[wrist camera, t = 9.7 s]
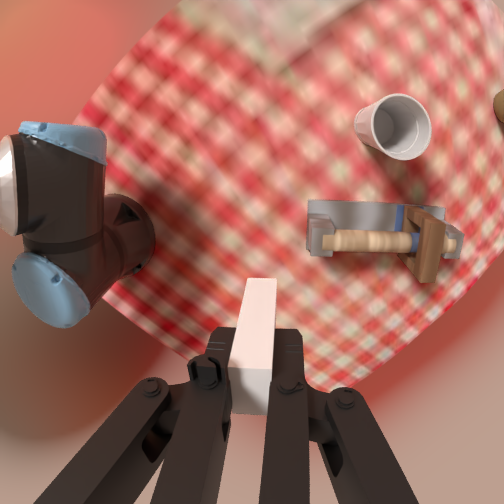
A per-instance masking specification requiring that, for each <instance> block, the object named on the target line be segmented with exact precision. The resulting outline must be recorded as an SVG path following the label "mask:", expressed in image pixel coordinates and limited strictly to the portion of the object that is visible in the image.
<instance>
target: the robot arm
mask: <svg viewBox="0 0 504 504" xmlns="http://www.w3.org/2000/svg"><path fill="white" fill-rule="evenodd" d="M18 131H19V132H20V133H19V134H15V135H8V136H5V137H4V138H3V139H2V141H1V142H0V228H2V229H3V230H4V231H6V232H7V233H9V234H10V235H11V236H16V235H19V234H22V236H23V244H24V253H21V254H19V255H18V256H17V259H16V260H15V262H14V264H13V266H12V279H13V283H14V286H15V288H16V291H17V293H18V295H19V296H20V298H21V300H22V301H23V302H24V304H25V305H26V306H27V307H28V308H29V309H30V311H31V312H32V313H33V314H34V315H36V316H37V317H38V318H39V319H41V320H42V321H44V322H45V323H47V324H49V325H51V326H54V327H58V328H68V327H72V326H74V325H75V324H76V323H78V322H79V321H80V320H81V318H83V317H84V316H87V314H89V312H90V310H91V309H92V308H93V307H94V305H95V304H96V303H97V302H98V301H99V300H100V299H101V298H102V296H103V295H104V294H105V293H106V292H107V291H108V290H109V289H110V288H111V286H112V285H113V284H114V283H115V282H116V281H117V280H120V279H123V278H126V277H129V276H132V275H134V274H136V273H137V272H139V271H140V270H141V269H142V268H143V267H144V266H145V265H146V264H147V263H148V262H149V260H150V258H151V257H152V254H153V251H154V247H155V234H154V229H153V225H152V223H151V221H150V218H149V217H148V215H147V213H146V212H145V211H144V209H143V208H142V207H141V206H140V205H139V204H138V203H137V202H135V201H134V200H132V199H131V198H129V197H126V196H124V195H120V194H108V195H105V196H104V191H105V172H106V166H107V162H106V145H107V139H106V135H105V133H104V132H103V131H102V130H100V129H99V128H95V127H87V126H78V125H68V124H57V123H45V122H31V121H24V122H22V123H21V125H20V128H19V130H18ZM276 295H277V279H271V278H248V279H247V284H246V288H245V293H244V297H243V302H242V306H241V310H240V315H239V319H238V323H237V328H231V327H217V328H216V329H215V330H214V331H213V332H212V333H211V336H210V339H209V343H208V345H207V349H206V351H205V354H204V355H199V356H196V357H194V358H193V359H191V360H190V361H189V363H188V364H187V367H188V372H189V376H190V381H189V382H186V383H182V384H176V385H168V384H167V383H166V381H164V380H163V379H161V378H156V377H151V378H146V379H144V380H142V381H140V382H139V383H138V384H137V385H136V386H135V387H134V388H133V389H132V391H131V392H130V393H129V394H128V395H127V396H126V397H125V399H124V400H123V401H122V402H121V403H120V404H119V405H118V407H117V408H116V409H115V410H114V411H113V412H112V414H111V415H110V416H109V417H108V418H107V419H106V420H105V422H104V423H103V424H102V425H101V426H100V427H99V428H98V430H97V431H96V432H95V433H94V434H93V435H92V437H91V438H90V439H89V440H88V441H87V443H85V445H84V446H83V447H82V448H81V449H80V450H79V451H78V453H77V454H76V455H75V456H74V457H73V458H72V460H71V461H70V462H69V463H68V464H67V465H66V466H65V468H64V469H63V470H62V471H61V472H60V473H59V475H58V476H57V477H56V478H55V479H54V480H53V481H52V483H51V484H50V485H49V486H48V487H47V488H46V489H45V491H44V492H43V493H42V494H41V496H39V498H38V499H37V500H36V501H35V502H34V504H133V503H134V502H135V501H136V499H137V498H138V497H139V495H140V494H141V492H142V491H143V489H144V488H145V486H146V485H147V483H148V482H149V480H150V479H151V478H152V476H153V475H154V473H155V471H156V470H157V469H158V467H159V466H160V464H161V462H162V461H163V460H164V462H163V465H162V468H161V471H160V474H159V477H158V480H157V483H156V486H155V490H154V493H153V496H152V499H151V502H150V504H216V503H217V498H218V493H219V487H220V482H221V476H222V471H223V465H224V460H225V455H226V449H227V443H228V438H229V432H230V426H231V419H230V414H231V410H232V413H236V414H251V415H267V423H266V434H265V445H264V456H263V466H262V477H261V486H260V496H259V504H310V498H309V497H310V492H309V491H310V489H309V487H310V484H309V483H310V482H309V481H310V478H309V477H310V476H309V441H313V442H317V444H318V447H319V450H320V452H321V455H322V458H323V461H324V464H325V466H326V469H327V472H328V475H329V477H330V480H331V483H332V486H333V489H334V492H335V494H336V497H337V500H338V503H339V504H419V503H418V501H417V499H416V497H415V495H414V493H413V491H412V489H411V487H410V485H409V483H408V481H407V479H406V477H405V475H404V473H403V471H402V469H401V467H400V465H399V463H398V462H397V460H396V458H395V456H394V454H393V452H392V450H391V448H390V446H389V444H388V442H387V441H386V439H385V437H384V435H383V433H382V431H381V429H380V427H379V426H378V424H377V422H376V420H375V418H374V416H373V415H372V413H371V411H370V409H369V407H368V405H367V403H366V402H365V400H364V398H363V396H362V395H361V394H360V393H359V392H358V391H356V390H354V389H352V388H348V387H342V388H337V389H335V390H333V391H332V392H331V393H326V392H321V391H318V390H315V389H314V388H312V387H311V386H310V385H309V384H308V383H307V382H306V380H305V375H304V357H303V340H302V335H301V334H300V332H299V331H298V330H297V329H275V328H276ZM164 458H165V459H164Z"/></svg>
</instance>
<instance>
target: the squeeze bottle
mask: <svg viewBox="0 0 504 504" xmlns="http://www.w3.org/2000/svg"><path fill="white" fill-rule="evenodd" d="M493 106H494V111H495V114H496V116H497V118H498V119H499V120H500V121H501V122H503V123H504V89H503V90H502V91H500V92H499V93H498V94H496V96H495V98H494V103H493Z"/></svg>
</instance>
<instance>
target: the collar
mask: <svg viewBox="0 0 504 504" xmlns="http://www.w3.org/2000/svg"><path fill="white" fill-rule="evenodd" d="M419 227H421V229H420V236H419V242H418V248H417V252H409V253H398V257H399V258H400V259H401V260H402V261H403V263H404V264H405V265H406V266H407V267H408V268H409V270H410V271H411V272H412V273H413V275H414V276H415V277H416V278H417V279H418V281H419V282H420V283H435V280H436V275H437V271H438V266H439V262H440V257H441V252H442V247H443V242H444V236H445V230H446V224H445V223H444V222H442V221H440V220H439V219H437V218H436V217H434V216H433V215H431V214H429V213H428V212H426V211H424V210H423V209H421V208H420V207H418V206H406V205H404V213H403V221H402V229H401V232H409V233H418V230H419Z"/></svg>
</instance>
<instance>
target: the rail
mask: <svg viewBox="0 0 504 504" xmlns="http://www.w3.org/2000/svg"><path fill="white" fill-rule="evenodd" d="M404 205H406V206H418V207H420V208H421V209H423V210H424V211H426V212H428V213H429V214H431V215H433V216H434V217H436V218H437V219H439V220H440V221H442V222H444V223H445V224H446V230H445V236H444V242H443V247H442V252H441V256H442V257H443V258H449V259H459V257H460V253H461V248H462V244H463V239H464V234H463V233H462V232H461V231H459V230H458V229H456V228H455V227H454V226H452V225H451V224H449V223H448V222H446V221H445V220H444V216H445V209H446V208H444V207H437V206H425V205H412V204H398V203H382V202H364V201H342V200H313V199H308V213H307V237H306V250H310V255H311V256H329V257H332V254H333V251H348V252H396V253H409V252H417V248H418V242H419V236H420V229H421V227H419V230H418V233H409V232H401V229H402V221H403V213H404Z"/></svg>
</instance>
